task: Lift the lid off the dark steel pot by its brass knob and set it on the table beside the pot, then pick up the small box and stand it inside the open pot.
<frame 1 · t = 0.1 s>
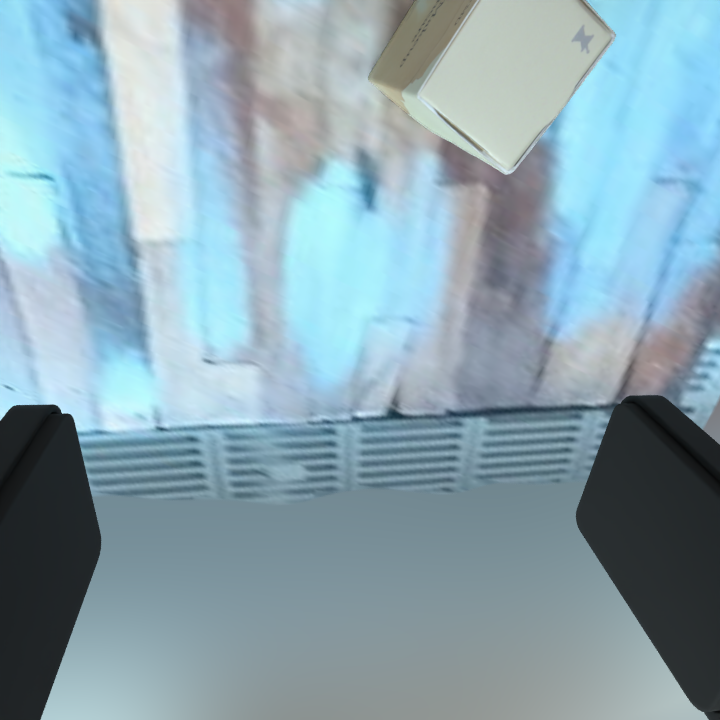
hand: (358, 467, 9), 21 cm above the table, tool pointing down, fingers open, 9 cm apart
box: (428, 62, 26), on the table
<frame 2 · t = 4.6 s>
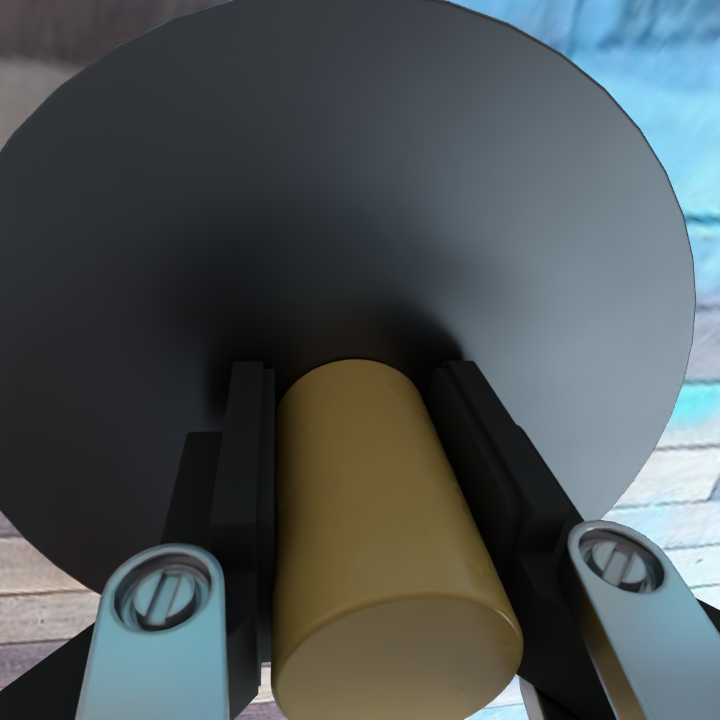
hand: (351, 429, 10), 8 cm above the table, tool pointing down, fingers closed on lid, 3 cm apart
lid: (347, 409, 11), point 8 cm above the table, touching gripper, pot
when the fingers open (1 cm above the table, at t = 12.7 s): lid stays where it is, point 1 cm above the table.
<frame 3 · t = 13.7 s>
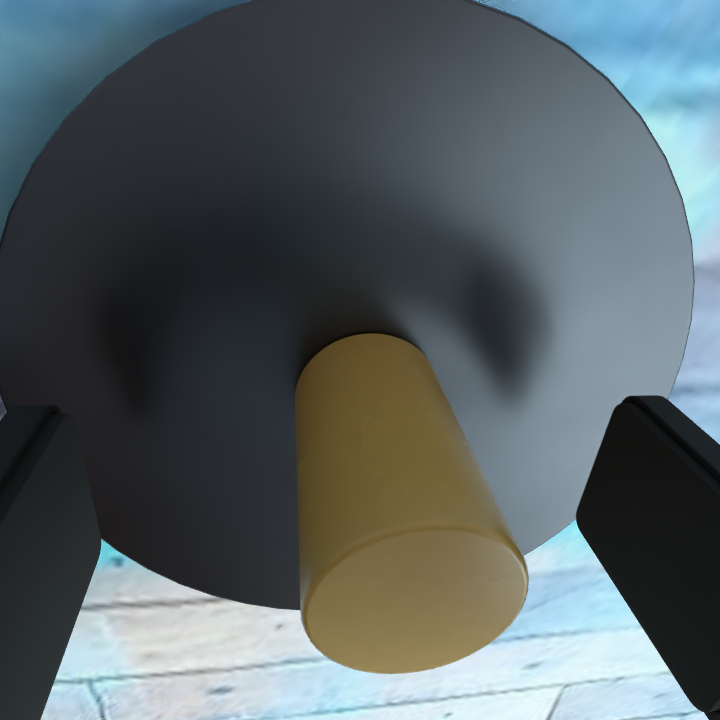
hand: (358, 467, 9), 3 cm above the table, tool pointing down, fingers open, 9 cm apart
lid: (363, 382, 12), point 1 cm above the table
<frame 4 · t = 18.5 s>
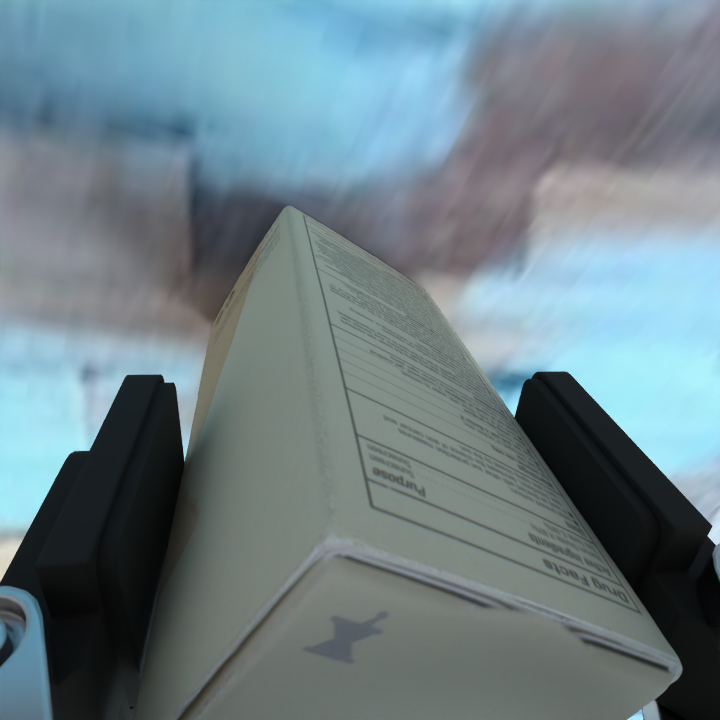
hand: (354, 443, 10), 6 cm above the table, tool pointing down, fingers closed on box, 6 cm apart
box: (326, 309, 15), on the table, touching gripper
when the fingers open (7 cm above the table, at t = 26.8 s): box stays where it is, resting on pot.
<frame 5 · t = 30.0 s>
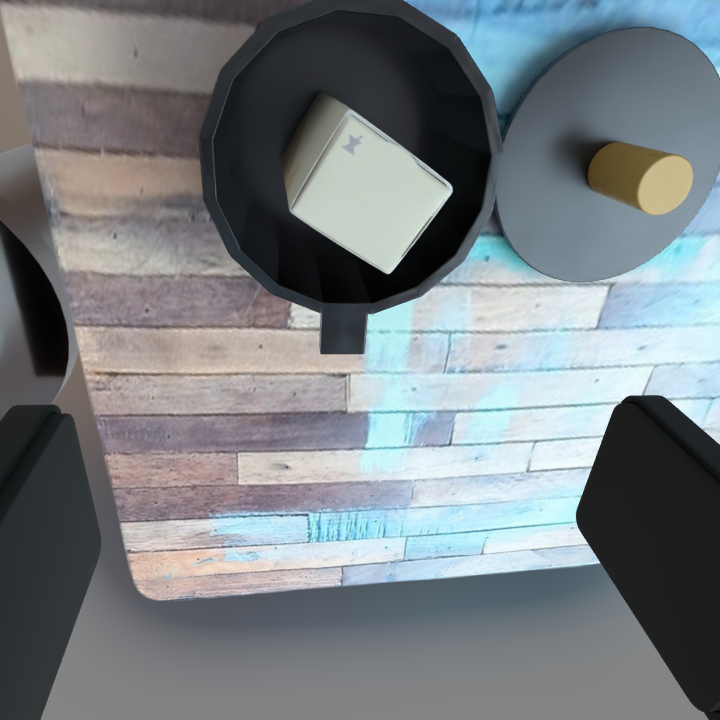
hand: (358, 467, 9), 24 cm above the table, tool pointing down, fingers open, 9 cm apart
box: (339, 152, 29), resting on pot
pot: (339, 151, 30), on the table
lid: (607, 167, 32), point 1 cm above the table
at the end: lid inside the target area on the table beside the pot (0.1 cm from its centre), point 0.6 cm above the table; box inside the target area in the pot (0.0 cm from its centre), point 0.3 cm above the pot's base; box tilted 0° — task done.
